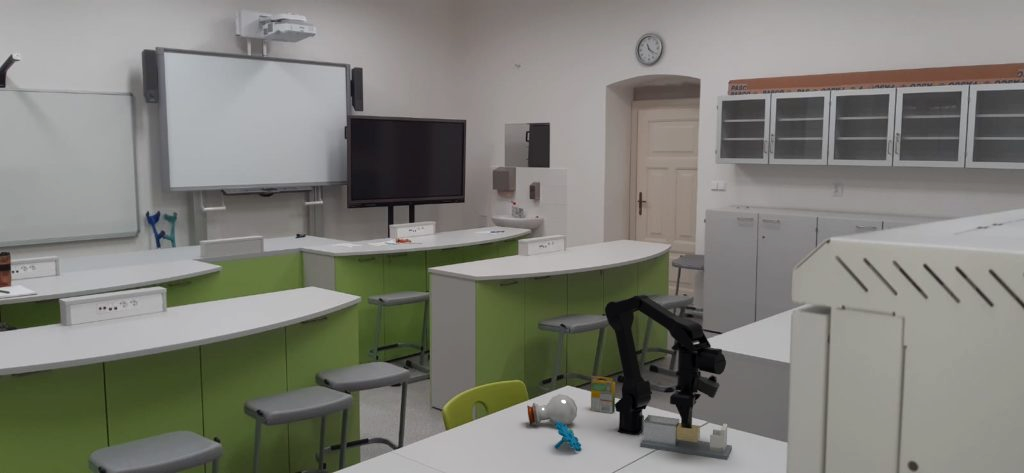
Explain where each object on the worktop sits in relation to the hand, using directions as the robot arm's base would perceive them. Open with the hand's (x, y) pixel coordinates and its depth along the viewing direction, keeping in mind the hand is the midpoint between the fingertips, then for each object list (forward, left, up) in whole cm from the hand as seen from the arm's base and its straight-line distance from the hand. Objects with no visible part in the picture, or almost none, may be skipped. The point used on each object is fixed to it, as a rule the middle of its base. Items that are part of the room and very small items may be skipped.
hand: (686, 421), depth 223 cm
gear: (-30, -14, -8) cm, 34 cm away
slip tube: (-4, 0, -5) cm, 6 cm away
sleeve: (-7, 0, -8) cm, 10 cm away
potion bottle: (-41, +3, -8) cm, 42 cm away
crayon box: (-31, +23, -8) cm, 39 cm away
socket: (+9, 0, -8) cm, 12 cm away
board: (0, 0, -8) cm, 8 cm away
